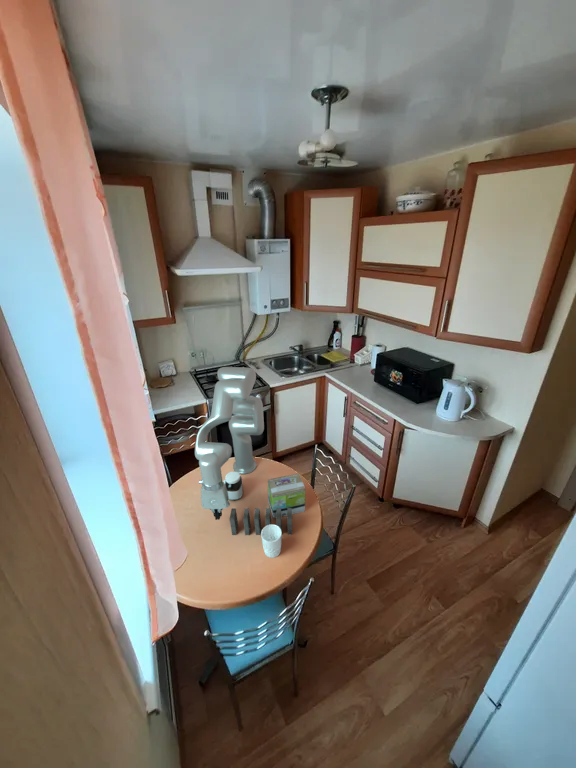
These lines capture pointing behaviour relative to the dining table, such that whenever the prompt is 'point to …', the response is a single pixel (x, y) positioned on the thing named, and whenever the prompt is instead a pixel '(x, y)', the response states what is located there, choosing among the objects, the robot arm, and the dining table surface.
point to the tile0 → (233, 521)
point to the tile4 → (279, 518)
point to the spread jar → (234, 485)
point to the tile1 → (246, 521)
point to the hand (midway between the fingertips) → (218, 516)
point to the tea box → (286, 494)
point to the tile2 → (257, 521)
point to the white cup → (271, 540)
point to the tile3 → (268, 517)
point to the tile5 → (289, 520)
